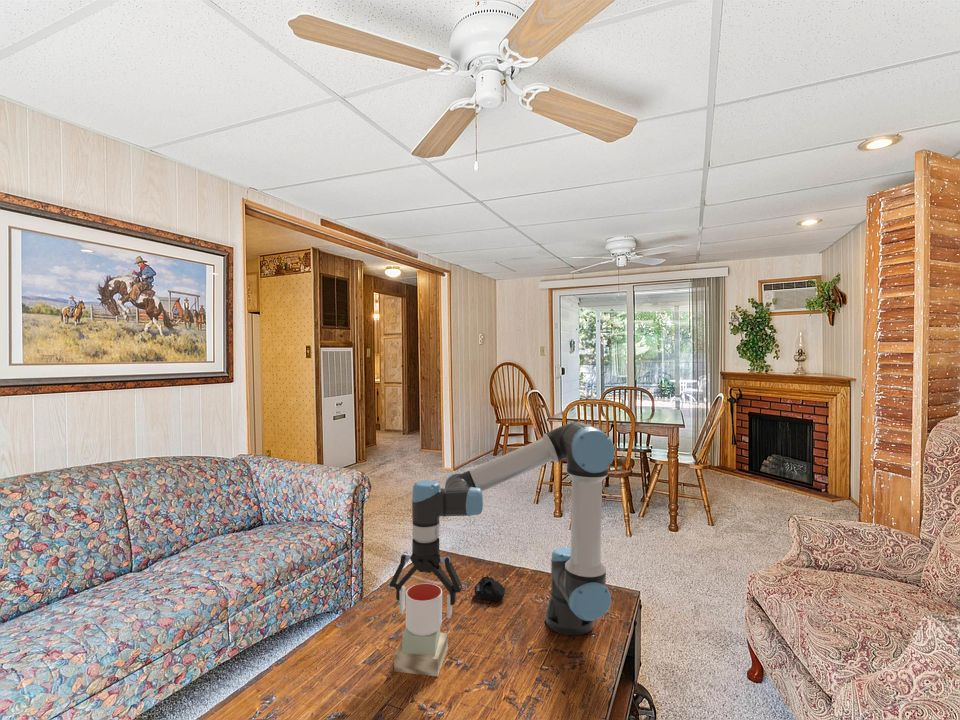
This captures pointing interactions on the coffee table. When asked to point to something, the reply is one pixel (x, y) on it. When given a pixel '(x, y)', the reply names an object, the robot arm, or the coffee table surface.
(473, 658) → the coffee table surface
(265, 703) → the coffee table surface
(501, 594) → the rock
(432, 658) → the tower base
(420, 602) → the cup
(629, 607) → the coffee table surface
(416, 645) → the tower top
